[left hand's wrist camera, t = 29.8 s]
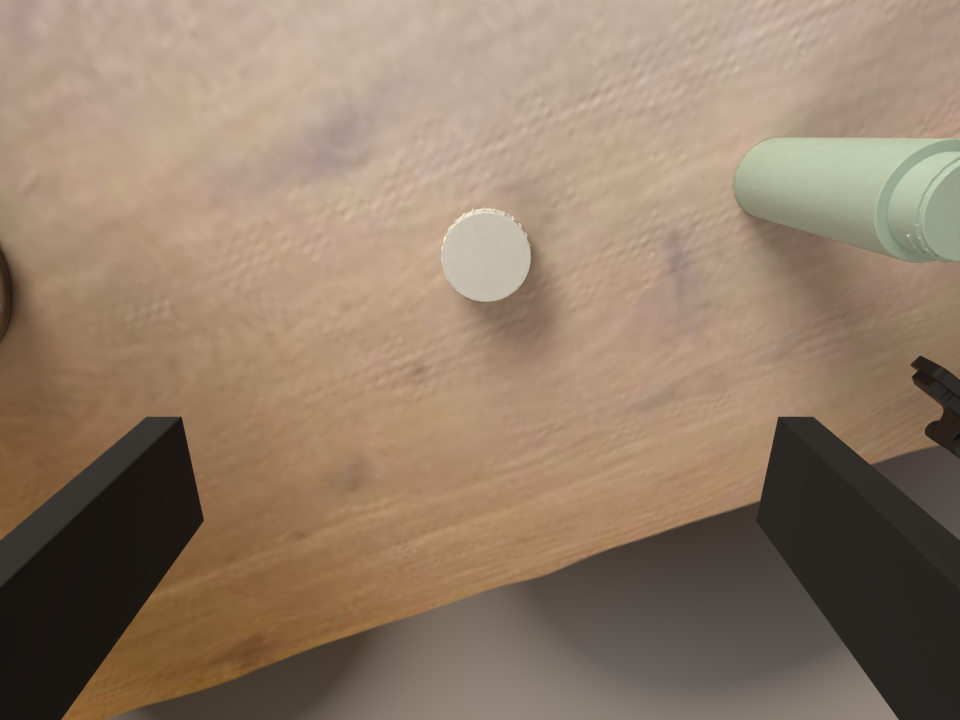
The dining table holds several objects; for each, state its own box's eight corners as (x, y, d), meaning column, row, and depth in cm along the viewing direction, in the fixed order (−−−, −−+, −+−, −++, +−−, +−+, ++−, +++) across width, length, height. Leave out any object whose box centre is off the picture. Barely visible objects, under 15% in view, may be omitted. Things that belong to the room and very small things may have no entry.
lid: (462, 192, 36) (461, 195, 34) (544, 228, 37) (548, 234, 35) (429, 273, 38) (426, 281, 36) (507, 306, 39) (509, 316, 37)
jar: (758, 125, 35) (965, 117, 20) (827, 154, 35) (1077, 167, 20) (719, 202, 36) (883, 248, 22) (786, 229, 37) (989, 291, 22)
